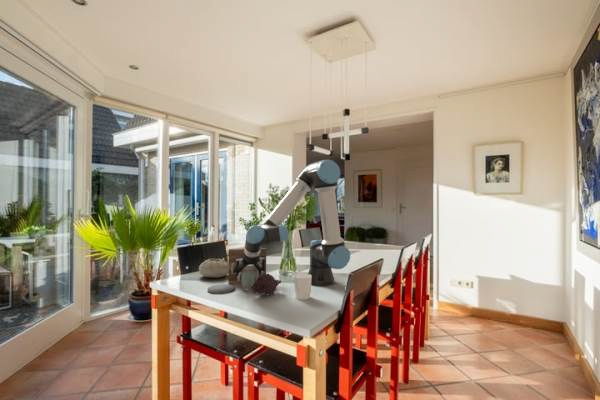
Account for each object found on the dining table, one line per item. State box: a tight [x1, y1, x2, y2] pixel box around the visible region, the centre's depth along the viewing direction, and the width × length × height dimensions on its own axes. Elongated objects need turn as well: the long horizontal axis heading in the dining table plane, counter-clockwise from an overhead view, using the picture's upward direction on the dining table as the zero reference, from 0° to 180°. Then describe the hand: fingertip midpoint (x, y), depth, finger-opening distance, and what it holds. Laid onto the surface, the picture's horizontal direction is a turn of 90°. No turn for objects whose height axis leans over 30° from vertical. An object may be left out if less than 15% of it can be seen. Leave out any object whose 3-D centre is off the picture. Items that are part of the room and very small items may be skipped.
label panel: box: [227, 247, 267, 285], centre depth 162 cm, size 6×20×18 cm, turn 102°
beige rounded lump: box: [198, 258, 229, 279], centre depth 173 cm, size 18×18×10 cm
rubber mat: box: [207, 283, 236, 295], centre depth 147 cm, size 13×13×1 cm
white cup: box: [294, 273, 312, 301], centre depth 136 cm, size 8×8×10 cm
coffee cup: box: [241, 265, 256, 290], centre depth 151 cm, size 8×8×12 cm
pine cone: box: [250, 273, 282, 296], centre depth 139 cm, size 18×10×10 cm, turn 140°
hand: (247, 277), depth 154 cm, fingers closed on coffee cup, 8 cm apart
